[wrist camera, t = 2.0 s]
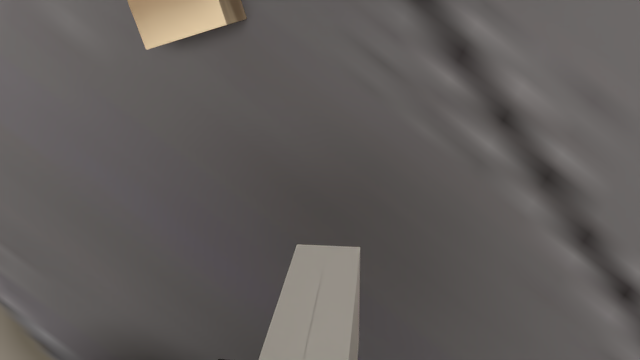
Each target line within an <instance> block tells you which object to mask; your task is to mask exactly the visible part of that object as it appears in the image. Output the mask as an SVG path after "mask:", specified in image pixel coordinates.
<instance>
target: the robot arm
mask: <svg viewBox="0 0 640 360" xmlns="http://www.w3.org/2000/svg"><path fill="white" fill-rule="evenodd" d="M359 297H360V247H346V246H323V245H300V244H297V246H296V249H295V252H294V255H293V258H292V261H291V264H290V267H289V270H288V273H287V276H286V279H285V282H284V285H283V288H282V291H281V294H280V297H279V300H278V303H277V306H276V309H275V312H274V315H273V318H272V321H271V324H270V327H269V330H268V333H267V336H266V339H265V342H264V345H263V348H262V351H261V354H260V357H259V360H357V359H358V347H359ZM218 360H224V359H218Z"/></svg>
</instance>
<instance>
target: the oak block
mask: <svg viewBox="0 0 640 360" xmlns="http://www.w3.org/2000/svg"><path fill="white" fill-rule="evenodd" d="M127 1H128V3H129V6H130V9H131V11H132V14H133V17H134V19H135V22H136V24H137V27H138V30H139V32H140V35H141V37H142V40H143V43H144V45H145V48H146V50H147V49H151V48H154V47H157V46H161V45H164V44H167V43H171V42H174V41H177V40H180V39H184V38H187V37H190V36H193V35H197V34H200V33H203V32H206V31H209V30H213V29H216V28H219V27H222V26H225V25H229V24H232V23H235V22H238V21H241V20H245V19H247V18H246V15H245V11H244V8H243V5H242V2H241V0H127Z"/></svg>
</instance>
